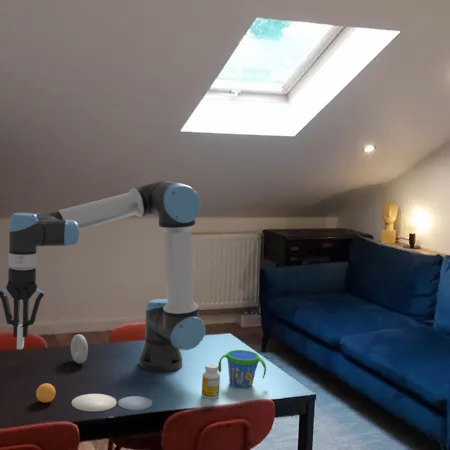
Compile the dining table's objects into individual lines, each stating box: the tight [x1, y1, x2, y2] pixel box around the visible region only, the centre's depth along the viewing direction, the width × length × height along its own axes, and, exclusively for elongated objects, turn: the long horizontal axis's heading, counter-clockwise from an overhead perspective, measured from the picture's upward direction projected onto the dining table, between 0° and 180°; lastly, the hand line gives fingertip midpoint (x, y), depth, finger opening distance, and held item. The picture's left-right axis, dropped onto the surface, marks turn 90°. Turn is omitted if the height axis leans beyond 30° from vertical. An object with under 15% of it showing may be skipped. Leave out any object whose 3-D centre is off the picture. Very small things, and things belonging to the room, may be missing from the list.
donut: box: [70, 333, 89, 365], centre depth 236 cm, size 10×4×10 cm, turn 34°
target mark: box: [71, 393, 118, 412], centre depth 203 cm, size 13×13×1 cm
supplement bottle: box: [201, 363, 221, 400], centre depth 213 cm, size 5×5×10 cm
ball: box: [35, 382, 57, 403], centre depth 201 cm, size 6×6×6 cm
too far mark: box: [117, 395, 153, 411], centre depth 204 cm, size 10×10×1 cm
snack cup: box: [217, 349, 267, 389], centre depth 224 cm, size 16×10×10 cm
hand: (20, 347), depth 198 cm, fingers closed
